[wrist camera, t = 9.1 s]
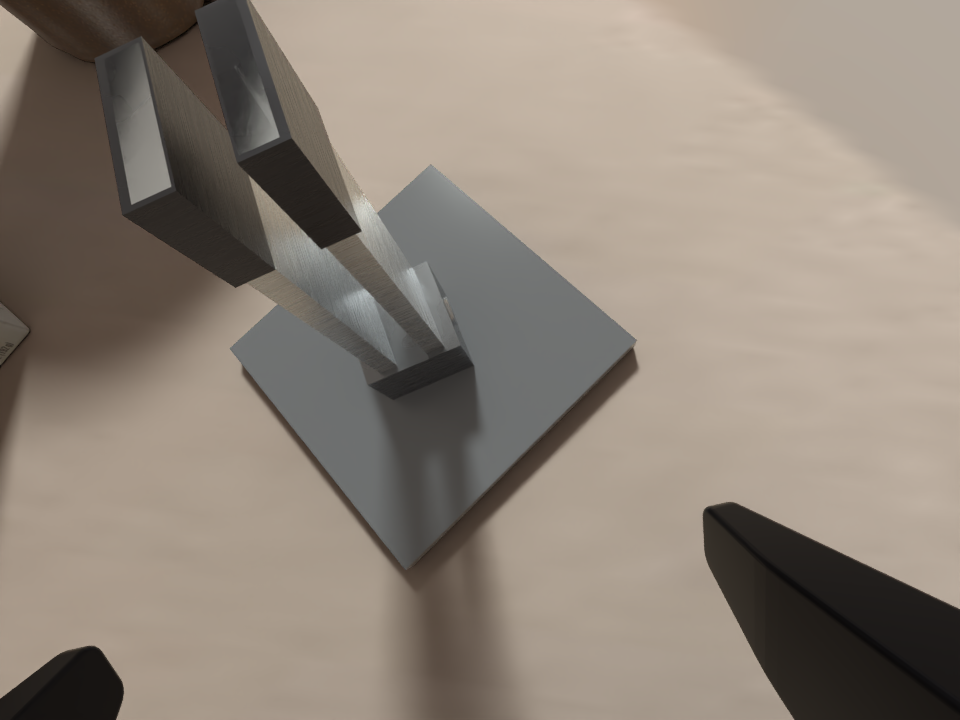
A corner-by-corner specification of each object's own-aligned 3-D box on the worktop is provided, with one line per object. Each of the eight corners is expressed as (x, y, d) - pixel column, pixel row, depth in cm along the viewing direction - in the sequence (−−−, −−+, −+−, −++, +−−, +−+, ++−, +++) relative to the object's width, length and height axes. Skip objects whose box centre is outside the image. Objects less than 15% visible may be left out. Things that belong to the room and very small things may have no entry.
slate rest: (633, 346, 18) (636, 340, 17) (412, 566, 17) (405, 570, 16) (435, 176, 21) (431, 164, 20) (242, 354, 20) (229, 348, 20)
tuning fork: (476, 364, 18) (324, 129, 6) (390, 401, 18) (93, 234, 7) (446, 289, 19) (267, -30, 7) (364, 325, 19) (66, 65, 8)
